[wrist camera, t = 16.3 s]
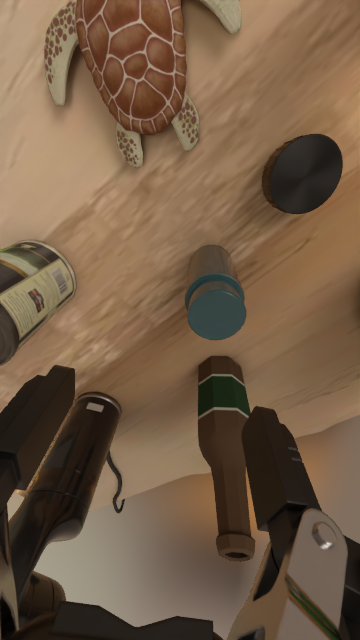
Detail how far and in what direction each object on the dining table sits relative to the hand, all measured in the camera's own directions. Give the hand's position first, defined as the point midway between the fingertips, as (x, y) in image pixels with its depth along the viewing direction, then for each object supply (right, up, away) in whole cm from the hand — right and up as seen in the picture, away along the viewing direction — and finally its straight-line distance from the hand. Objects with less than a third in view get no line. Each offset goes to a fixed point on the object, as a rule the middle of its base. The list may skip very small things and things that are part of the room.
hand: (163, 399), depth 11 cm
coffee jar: (+5, +11, +22) cm, 25 cm away
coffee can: (-20, +10, +24) cm, 33 cm away
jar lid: (+13, +19, +16) cm, 28 cm away
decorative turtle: (-3, +28, +12) cm, 31 cm away
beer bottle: (+8, -5, +32) cm, 33 cm away
